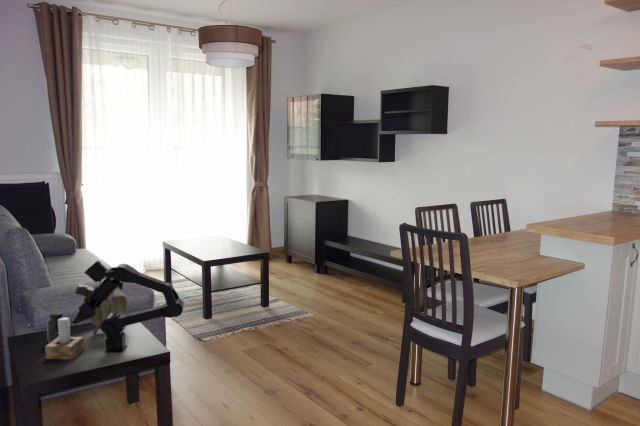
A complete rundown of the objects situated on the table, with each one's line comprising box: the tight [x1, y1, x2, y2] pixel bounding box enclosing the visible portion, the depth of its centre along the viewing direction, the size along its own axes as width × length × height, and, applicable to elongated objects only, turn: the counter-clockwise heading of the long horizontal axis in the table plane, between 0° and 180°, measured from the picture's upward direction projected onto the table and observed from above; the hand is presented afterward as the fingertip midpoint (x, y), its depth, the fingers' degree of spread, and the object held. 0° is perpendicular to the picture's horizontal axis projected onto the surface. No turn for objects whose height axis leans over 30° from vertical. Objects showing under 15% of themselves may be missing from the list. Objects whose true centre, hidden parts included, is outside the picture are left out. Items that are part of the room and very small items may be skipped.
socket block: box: [44, 336, 85, 360], centre depth 200 cm, size 10×10×5 cm
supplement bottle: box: [46, 310, 64, 344], centre depth 213 cm, size 7×7×12 cm
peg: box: [58, 317, 71, 344], centre depth 200 cm, size 4×4×13 cm
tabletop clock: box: [89, 276, 129, 334], centre depth 222 cm, size 14×9×25 cm, turn 133°
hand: (75, 319), depth 200 cm, fingers open, 9 cm apart
